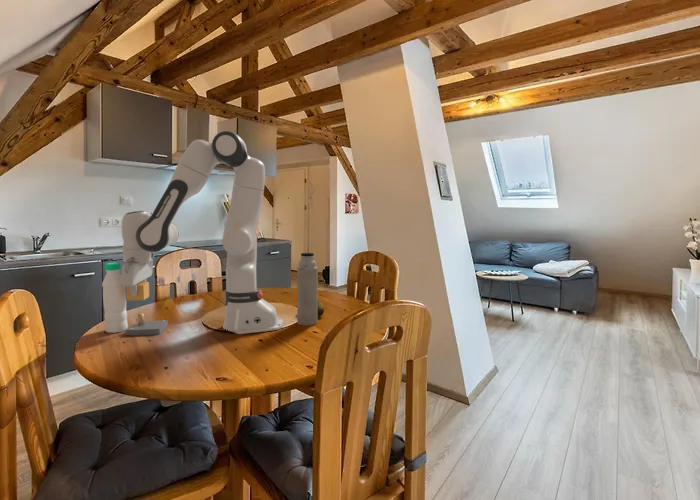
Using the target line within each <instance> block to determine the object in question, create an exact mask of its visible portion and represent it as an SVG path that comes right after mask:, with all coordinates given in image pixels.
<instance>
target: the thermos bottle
mask: <svg viewBox="0 0 700 500" xmlns="http://www.w3.org/2000/svg"><path fill="white" fill-rule="evenodd" d="M314 255H315V254H314V253H313V252H302V253H300V258H301V260H299V261H298V266H297V268H296V272H297V273H296V276H297V277H296V282H297V283H296V292H297V295H296V296H297V297H296V300H297V301H296V302H297V303H296V304H297V305H296V306H297V307H296V308H297V314H296V315H297V317H296V319H297V324H298V325H300V326H314V325H316V324H317V323H318V318H319V317H318V315H317V304H318V299H319V297H318V296H319V295H318V288H319V287H318V285H319V284H318V283H319V282H318V281H319V280H318V278H319V277H318V274H319V273H318V266H317V261H315V260H314Z"/></svg>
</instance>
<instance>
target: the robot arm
mask: <svg viewBox="0 0 700 500" xmlns="http://www.w3.org/2000/svg"><path fill="white" fill-rule="evenodd" d="M217 165H222V166H226V167H232V169H233V171H234V179H233V184H232V190H231V191H232V192H231V198H230V203H229V209H228V213H227V217H226V221H225V224H224V230H223V234H222V235H223V236H222V245H223V249H224V250H225V251H226V254H227V255H226V256H227V257H226V266H225V280H226V281H225V284H226V285H225V286H226V287H225V288H226V290H225V291H224V292H225V293H224V303H225V316H224V322H223V325H222V328H223V330H225V329H226V330H225V331H227V330H228V331H227V332H232V333H234V334H236V335H237V334H238V335H244V334H251V333H253V334H254V333H262V332H269V331H271V332H272V331H279V330H280V329H282V328H283V326H284V322H283V319H282V318H281V317H279V316H278V313H277V309H276V308H275V306H273V305H272V304H271V303H270V302H269V301H266V300H265V299H264V298H263V295H264V294H263V291H262V289H258V288H257V259H258V256H257V255H258V254H257V253H258V252H257V251H258V250H257V249H258V236H257V231H258V230H257V229H258V224H259V220H260V215H261V210H262V205H263V204H262V203H263V199H264V192H265V183H266V166H265V163H264V162H262V161H261V160H260V159H259V158H255V157H252V156H250V155H249V150H248V147H247V145H246V143H245V141H244V139H242V138H241V137H240V136H239V135H238V134H237V133H235V132H232V131H229V130H224V131H220V132H218V133H217V134H216V135H214V137H213V139H212V141H211V142H208V141H206V140H205V139H195V140H193V141H192V142H190V144H189V145H188V146H187V148H186V149H185V151H184V152H183V154H182V155H181V156H180V159H179V161H178V162H177V164H176V167H175V168H174V171H173V174H172V177H171V178H170V181H169V183H168V185H167V187H166V189H165V190H164V193H163V194H162V197H160V200H159V201H158V203H157V205H156V207H155V208H154V210H153V212H152V213H151V214H150V213H149V212H148V211H145V210H137V211H135V210H134V211H129V212H127V213H125V214H124V215H123V217H122V221H121V237H122V240H123V243H122V247H121V248H122V261H123V262H125V263H124V264H123V265H122V267H121V273H120V274H121V283H122V286H125V287H126V286H129V288H130V290H131V296H137V295H138V290H137V284H138V283H139V282H147V279H148V278H150V277H152V275H153V271H154V259H153V258H155V252H160V251H161V250H163V249H164V248H165V249H166V248H167V247H170V246H172V245H174V244H175V243H176V242H177V241H178V239H179V235H180V234H179V232H180V231H179V229H178V227H177V226H176V225H175V223H173V220H174V219H175V217H176V215H177V212H179V209H180V207H181V206H182V205H183V203H184V202H186V201H187V200H188V199H190V198H192V197H193V196H196V195H197V194H199V193H200V192H201V191H202V190H203V188H204V187H205V185H206V184H207V182H208V180H209V179H210V177H211V174H212V172H213V170H214V168H215V167H216V166H217Z"/></svg>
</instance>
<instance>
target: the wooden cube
mask: <svg viewBox="0 0 700 500" xmlns="http://www.w3.org/2000/svg"><path fill="white" fill-rule="evenodd" d="M125 289H126V301H145V300H146V299H148V298H149V297H150V282H149V281H146V282H139V283H138V284H137V290H138V295H137V296H131V290H130V288H129V286H125Z"/></svg>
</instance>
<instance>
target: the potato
mask: <svg viewBox="0 0 700 500" xmlns="http://www.w3.org/2000/svg"><path fill="white" fill-rule="evenodd" d="M324 312H325V307H324V305H323V303H322V300H321V299H320V298H318V304H317V315H318V318H319V317H321V316H322V315H324Z"/></svg>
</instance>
